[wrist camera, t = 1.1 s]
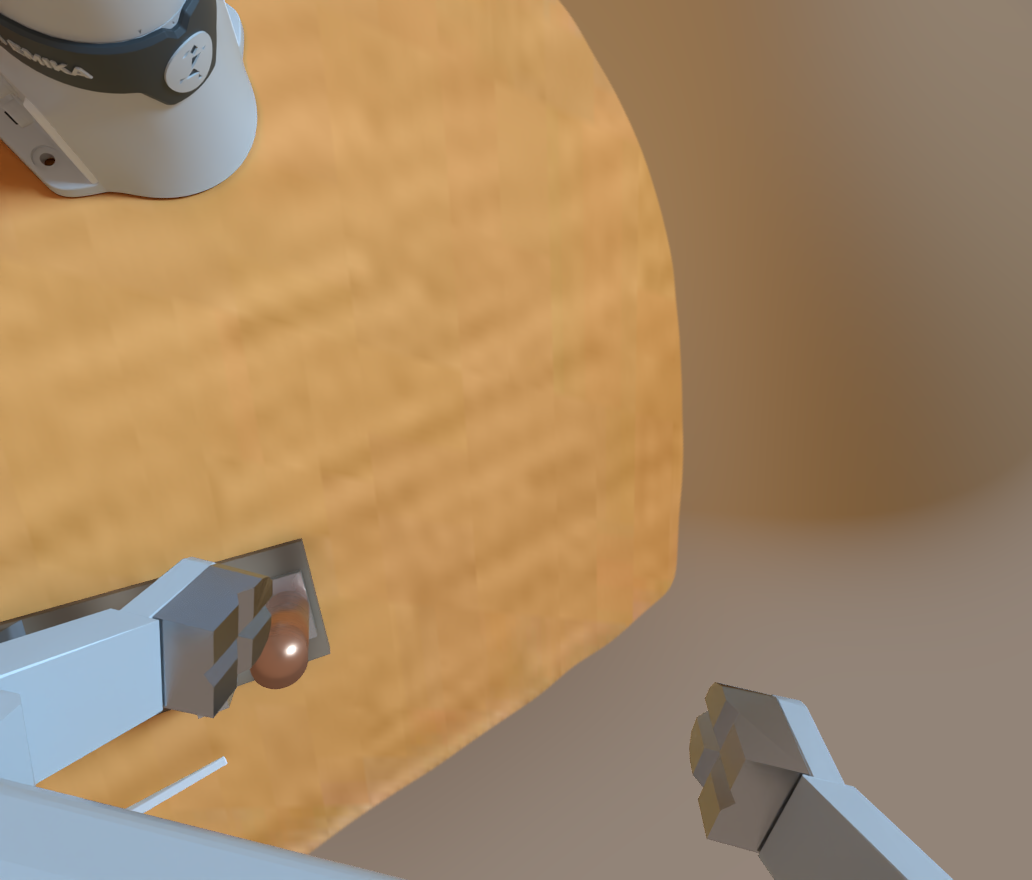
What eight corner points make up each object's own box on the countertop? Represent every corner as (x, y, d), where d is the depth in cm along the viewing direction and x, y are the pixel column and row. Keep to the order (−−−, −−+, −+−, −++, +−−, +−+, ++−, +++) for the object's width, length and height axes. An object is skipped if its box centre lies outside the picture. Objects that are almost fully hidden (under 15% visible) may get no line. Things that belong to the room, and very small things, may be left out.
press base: (24, 753, 37) (-32, 812, 31) (-14, 626, 37) (-79, 661, 31) (329, 647, 44) (332, 678, 38) (301, 538, 43) (299, 552, 37)
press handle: (210, 689, 40) (173, 777, 29) (181, 582, 39) (132, 632, 29) (322, 651, 42) (324, 718, 32) (296, 550, 42) (289, 584, 31)
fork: (238, 771, 42) (235, 784, 41) (-82, 957, 36) (-102, 983, 34) (219, 734, 42) (216, 747, 40) (-108, 915, 35) (-129, 939, 33)
